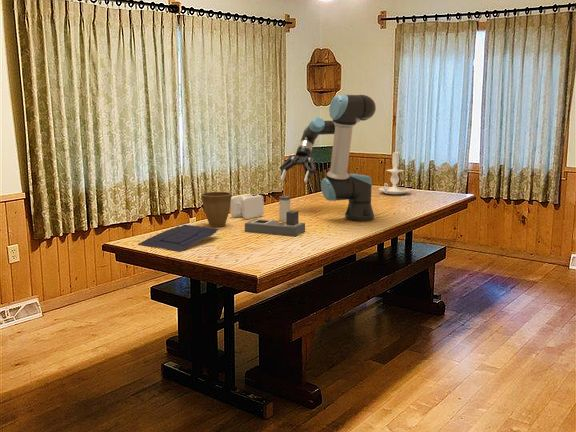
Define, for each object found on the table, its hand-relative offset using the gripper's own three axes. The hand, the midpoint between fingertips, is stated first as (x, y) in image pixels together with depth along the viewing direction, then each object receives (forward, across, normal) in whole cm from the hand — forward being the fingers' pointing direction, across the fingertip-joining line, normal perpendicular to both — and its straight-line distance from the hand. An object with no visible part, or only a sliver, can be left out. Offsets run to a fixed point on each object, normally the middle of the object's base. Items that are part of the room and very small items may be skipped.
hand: (293, 181), depth 327 cm
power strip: (+42, -8, +16) cm, 45 cm away
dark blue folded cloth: (+67, +22, +40) cm, 81 cm away
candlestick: (-51, -32, -78) cm, 99 cm away
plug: (+22, -1, -4) cm, 22 cm away
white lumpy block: (+24, +20, -3) cm, 31 cm away
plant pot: (+41, +24, +15) cm, 50 cm away
